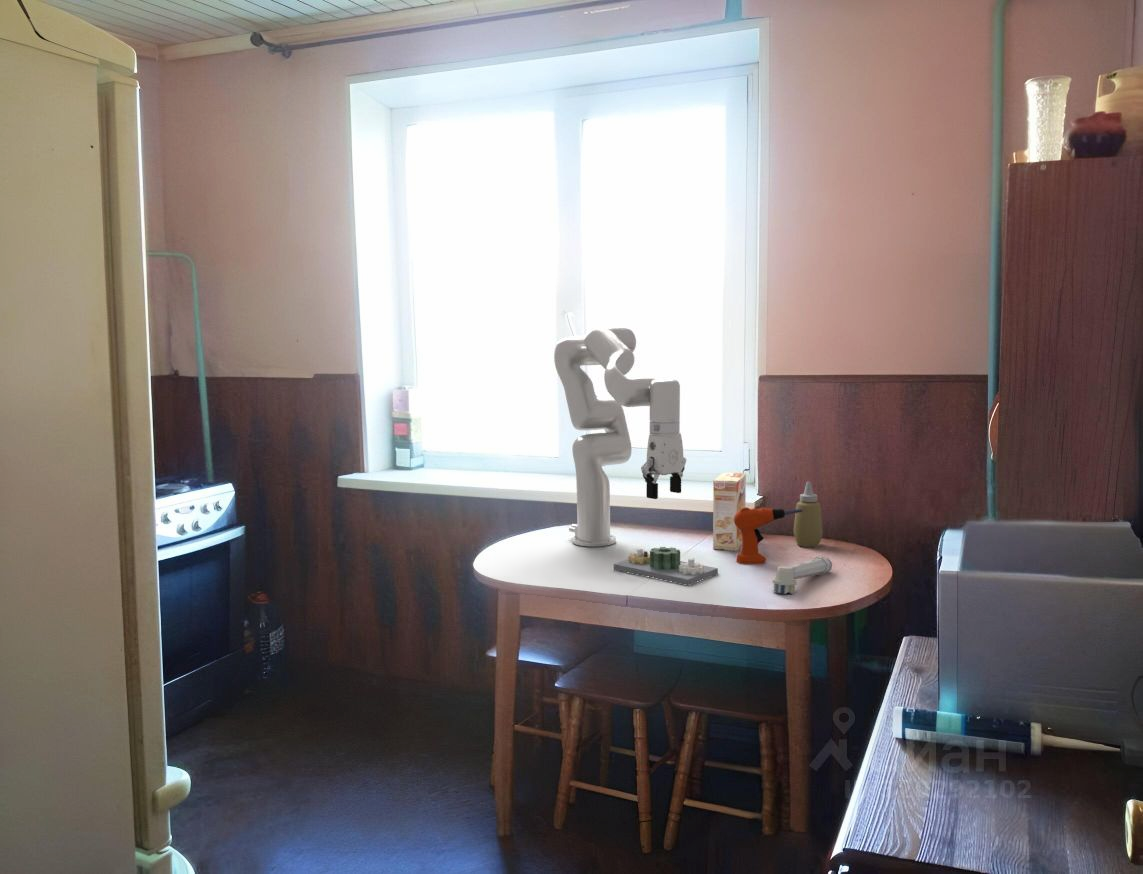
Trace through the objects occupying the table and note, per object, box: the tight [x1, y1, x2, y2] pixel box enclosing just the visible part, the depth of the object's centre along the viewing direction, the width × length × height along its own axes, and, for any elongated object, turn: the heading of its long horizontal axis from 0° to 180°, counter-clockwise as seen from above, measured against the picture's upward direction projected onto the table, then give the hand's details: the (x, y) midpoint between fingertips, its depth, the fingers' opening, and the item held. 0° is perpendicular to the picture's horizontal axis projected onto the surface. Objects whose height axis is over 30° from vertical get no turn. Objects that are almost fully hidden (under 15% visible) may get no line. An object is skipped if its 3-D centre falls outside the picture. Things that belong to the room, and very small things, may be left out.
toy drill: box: [734, 506, 803, 565], centre depth 232 cm, size 5×19×15 cm, turn 91°
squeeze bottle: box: [793, 481, 824, 548], centre depth 248 cm, size 8×8×18 cm
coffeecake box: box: [712, 472, 747, 552], centre depth 251 cm, size 15×7×20 cm, turn 160°
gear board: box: [613, 548, 719, 586], centre depth 224 cm, size 23×13×4 cm, turn 48°
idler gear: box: [649, 546, 681, 570], centre depth 224 cm, size 8×8×4 cm
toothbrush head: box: [771, 556, 833, 595], centre depth 212 cm, size 5×7×25 cm
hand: (664, 495), depth 225 cm, fingers open, 9 cm apart
